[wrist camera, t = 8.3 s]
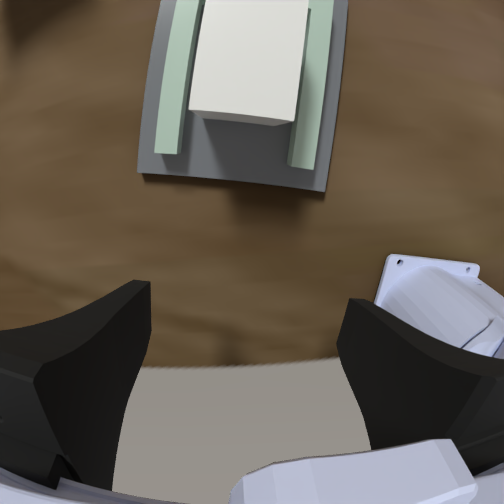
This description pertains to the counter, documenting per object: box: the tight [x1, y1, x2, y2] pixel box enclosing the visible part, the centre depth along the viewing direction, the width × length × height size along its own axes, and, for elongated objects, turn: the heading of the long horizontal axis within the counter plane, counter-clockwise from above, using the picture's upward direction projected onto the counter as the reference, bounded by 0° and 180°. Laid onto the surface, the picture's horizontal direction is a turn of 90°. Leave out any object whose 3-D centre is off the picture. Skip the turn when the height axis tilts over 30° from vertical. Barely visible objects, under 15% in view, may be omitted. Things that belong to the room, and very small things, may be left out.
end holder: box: [137, 0, 348, 192], centre depth 16 cm, size 11×13×2 cm
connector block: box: [189, 0, 309, 126], centre depth 13 cm, size 4×6×6 cm, turn 173°
